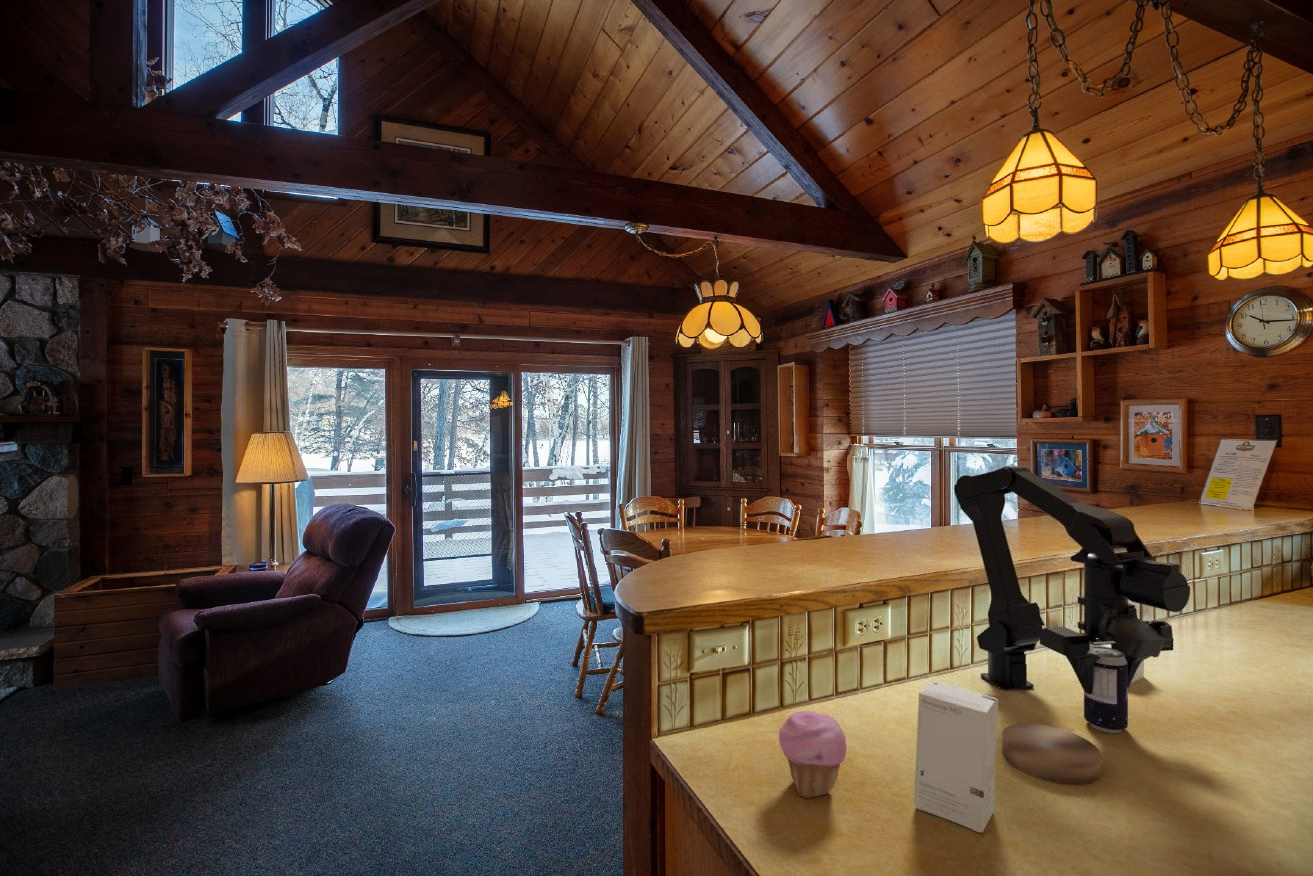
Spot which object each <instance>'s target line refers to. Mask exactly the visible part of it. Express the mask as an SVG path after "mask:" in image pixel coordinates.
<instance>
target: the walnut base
mask: <svg viewBox="0 0 1313 876" xmlns="http://www.w3.org/2000/svg"><path fill="white" fill-rule="evenodd" d="M1001 738H1002V739H1001V745H1002V746H1001V747H1002V748H1001V750H1002V755H1003V757H1004V758H1005V760H1006V761H1007V762H1008V763H1010V764H1011V765H1012V766H1013V767H1015V768H1016V769H1017V770H1020V771H1021V772H1024V773H1025V774H1028V775H1030V776H1032V777H1035V778H1037V779H1040V780H1045V781H1048V782H1052V783H1057V784H1062V785H1072V786H1073V785H1074V786H1075V785H1076V786H1078V785H1087V784H1093V783H1096V782H1098V780H1100V779H1101V777H1102V754H1101V751H1100V749H1099V748H1098V747H1097V746H1096V745H1094V743H1092V742H1091V741H1090V740H1089V739H1087V738H1084V737H1083V736H1080V735H1078V734H1076V733H1073V732H1071V731H1069V730H1066V729H1061V728H1058V727H1055V726H1049V725H1046V724H1038V723H1036V724H1035V723H1017V724H1012V725H1009V726H1007V727H1006V728H1004V729H1003V730H1002V733H1001Z"/></svg>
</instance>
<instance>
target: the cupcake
mask: <svg viewBox="0 0 1313 876" xmlns="http://www.w3.org/2000/svg"><path fill="white" fill-rule="evenodd" d="M778 733H779V734H778V735H779V736H778V737H779V738H778V742H779V745H780V748H781V750H782V752H783V755H784V756H785V757H786V759H787V763H788V766H789V770H790V776H791V778H792V780H793V784H794V785H795V788H796V790H797V792H798V794H799V795H800V796H801V797H803V798H806V799H811V798H816V797H821V796H825V795H827V794H829V793H830V792H831V791H832V790H833V788H834V787H835V785H836V782H837V779H838V775H839V771H840V768H841V767H840V765H841V764H842V763H844V760H845V758H846V754H847V741H846V735H845V732H844V731H843V729H842V728H841V725H840V724H839V722H838V720H836V719H835V718H834V717H833V716H831V715H829V714H826V713H825V714H824V713H819V712H815V711H811V710H801V711H796V712H793V713H792V714H790V715H789V716H788V718H787V719H786V721H784V722H783V724H782V725H781V726H780V728H779V731H778Z"/></svg>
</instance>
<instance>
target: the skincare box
mask: <svg viewBox="0 0 1313 876" xmlns="http://www.w3.org/2000/svg"><path fill="white" fill-rule="evenodd" d="M917 706H918V707H917V708H918V709H917V711H918V712H917V727H916V728H917V729H916V731H917V732H916V756H915V772H914V773H915V775H914V776H915V777H914V778H915V779H914V780H915V781H914V800H913V801H914V806H915V807H914V808H915V809H917V810H920V811H922V812H925V813H928V814H932V815H934V816H937V817H940V818H942V819H945V820H948V821H949V822H953V823H956V824H958V825H960V826H963V827H965V828H968V829H969V830H972V831H974V832H977V833H978V834H979V833H981V834H982V833H984V831H985V829H986V827H987V825H988V823H989V821H990V819H991V817H992V815H993V814H994V805H995V804H994V801H995V781H996V759H997V757H996V756H997V740H998V739H997V733H998V731H997V730H998V714H999V713H998V710H999V699H998V698H996V697H993V696H989V695H987V694H983V693H979V692H976V691H973V690H971V689H967V688H963V687H960V686H956V685H955V686H954V685H951V684H946V683H943V682H938V681H935V680H931V681H929V683H927V684H926V685H925V687H924V688H923V689H922V690H920V691H919V693H918V705H917Z"/></svg>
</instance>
